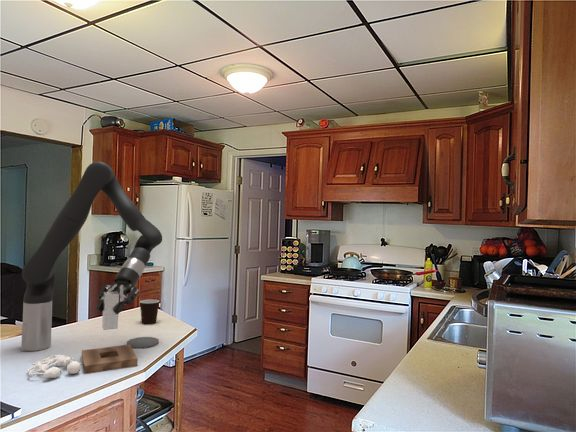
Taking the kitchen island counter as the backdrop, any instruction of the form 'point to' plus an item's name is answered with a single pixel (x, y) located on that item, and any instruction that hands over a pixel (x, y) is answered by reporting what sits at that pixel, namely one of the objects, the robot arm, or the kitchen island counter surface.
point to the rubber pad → (143, 342)
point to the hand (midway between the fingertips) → (107, 311)
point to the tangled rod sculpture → (54, 371)
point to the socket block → (108, 358)
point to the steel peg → (110, 310)
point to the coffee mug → (149, 311)
